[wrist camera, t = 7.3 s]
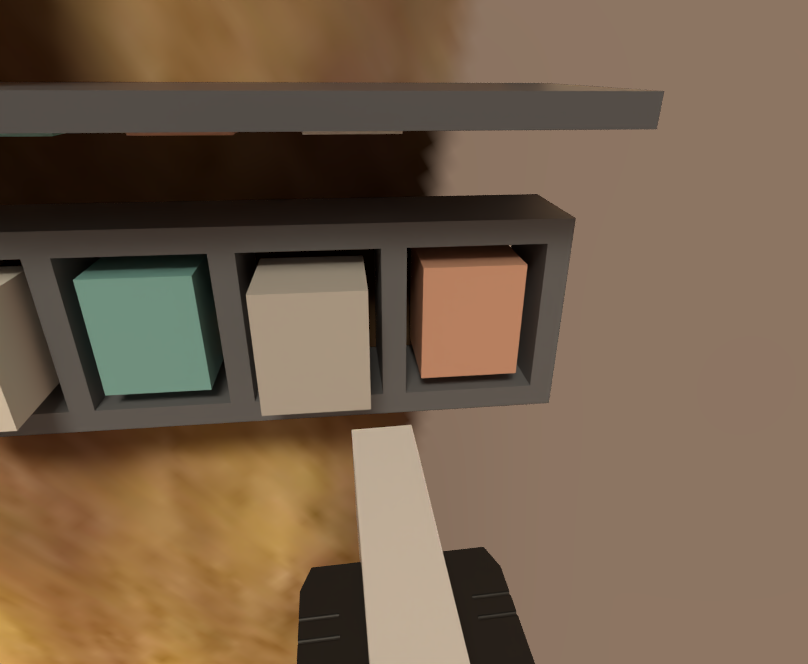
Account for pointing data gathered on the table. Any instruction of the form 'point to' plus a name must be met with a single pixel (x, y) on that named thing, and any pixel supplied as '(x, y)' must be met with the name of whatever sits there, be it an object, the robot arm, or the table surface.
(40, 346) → the key
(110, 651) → the table surface
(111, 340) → the key
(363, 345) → the grey block
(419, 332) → the key
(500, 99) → the screen
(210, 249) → the key frame
